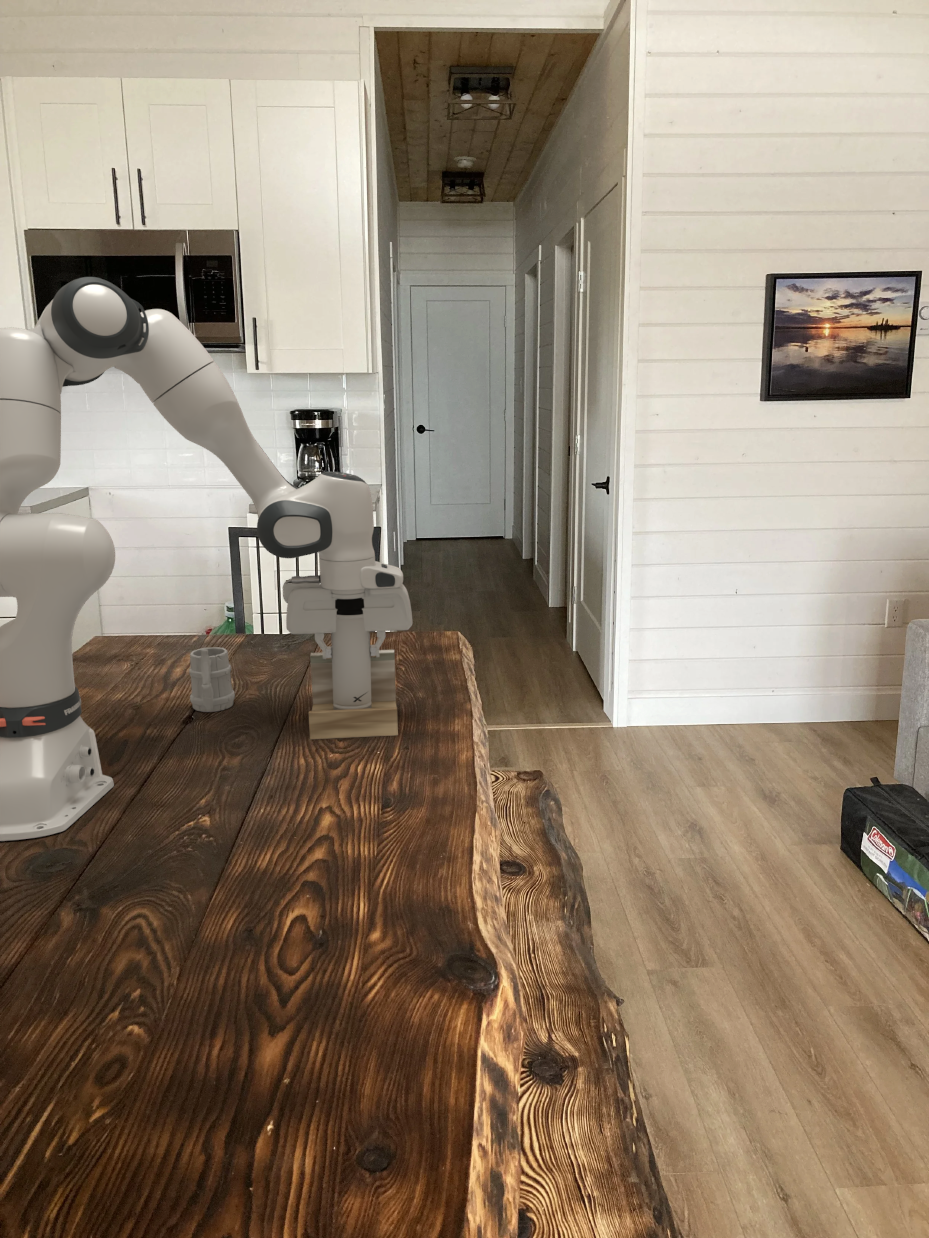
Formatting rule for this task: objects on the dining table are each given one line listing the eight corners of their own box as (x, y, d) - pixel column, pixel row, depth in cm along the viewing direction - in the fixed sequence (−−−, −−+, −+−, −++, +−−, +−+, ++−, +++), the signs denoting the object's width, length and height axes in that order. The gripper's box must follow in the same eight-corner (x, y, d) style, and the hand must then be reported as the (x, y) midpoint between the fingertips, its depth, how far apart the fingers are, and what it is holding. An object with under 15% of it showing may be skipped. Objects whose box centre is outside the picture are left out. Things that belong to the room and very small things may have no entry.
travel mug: (367, 717, 152) (364, 595, 148) (328, 715, 154) (324, 594, 150) (378, 706, 158) (375, 588, 154) (340, 704, 160) (337, 587, 156)
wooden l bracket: (397, 735, 152) (395, 669, 149) (310, 739, 151) (306, 673, 148) (396, 710, 163) (394, 649, 161) (314, 714, 162) (310, 652, 159)
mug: (236, 697, 172) (232, 633, 169) (231, 719, 160) (226, 651, 157) (193, 699, 170) (187, 635, 168) (185, 722, 159) (179, 653, 156)
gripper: (280, 580, 147) (285, 665, 150) (411, 576, 149) (414, 660, 152) (283, 572, 153) (288, 654, 156) (410, 568, 155) (412, 649, 158)
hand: (351, 657), depth 154 cm, fingers closed on travel mug, 6 cm apart
